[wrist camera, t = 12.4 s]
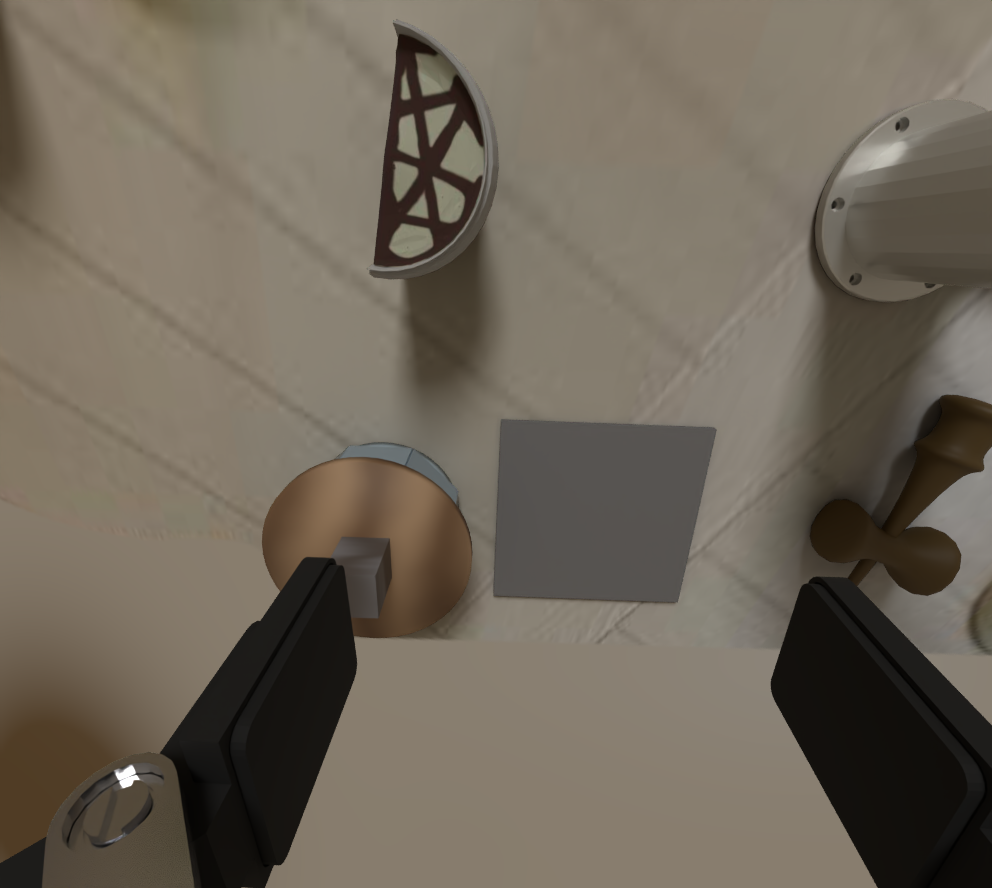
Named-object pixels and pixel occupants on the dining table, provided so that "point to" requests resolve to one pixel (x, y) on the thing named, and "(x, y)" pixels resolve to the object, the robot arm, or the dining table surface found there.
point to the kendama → (912, 507)
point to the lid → (374, 541)
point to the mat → (597, 508)
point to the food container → (433, 161)
